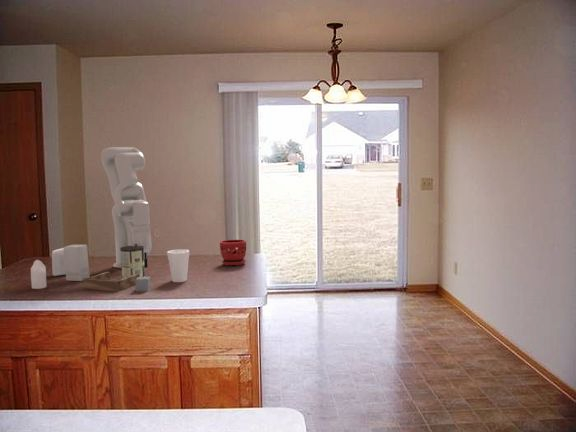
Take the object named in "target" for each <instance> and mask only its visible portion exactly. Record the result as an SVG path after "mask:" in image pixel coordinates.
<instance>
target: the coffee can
mask: <svg viewBox="0 0 576 432" xmlns="http://www.w3.org/2000/svg"><path fill="white" fill-rule="evenodd" d="M120 250H121V267H122V268H121V279H123V278H126V277H129V276H131V275H134V274H140V277H146V271H145V270H146V268H145V266H144V246H141V247H138V246H125V247H121V248H120Z"/></svg>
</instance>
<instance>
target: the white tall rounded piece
mask: <svg viewBox="0 0 576 432" xmlns="http://www.w3.org/2000/svg"><path fill="white" fill-rule="evenodd" d="M30 281H31V282H30V283H31V289H35V290H40V289H45V288H47V286H48V285H47V268H46V265H45V264H43V262H42V261H41V260H39V259H36V260H35V261H33V264H32V266H30Z"/></svg>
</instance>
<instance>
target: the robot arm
mask: <svg viewBox="0 0 576 432" xmlns="http://www.w3.org/2000/svg"><path fill="white" fill-rule="evenodd" d="M100 157H101V158H100V159H101V164H102V166H103V169H104V171H105V173H106V175H107V177H108V183H109V188H110V194H111V197H112V199H113V201H114V205H113V206H112V208H111V215H112V220H113V227H114V240H115V241H114V242H115V257H116V258H115V260H116V262H115V263H113V264H112V267H114V268H116V269H117V268H118V269H122V267H121V250H120V248H121V247H125V246H138V247H141V246H144V266H145V269H146V268H148V257H149V255H150V253H151V251H152V249H153V247H152V246H153V244H152V243H153V242H152V234H151V221H150V220H151V219H150V205H149V204H150V203H149V202H148V201H147V198H146V193H145V189H144V186H143V184H142V183H140V182H138V179H139V178H138V176H137V172H136V171H138V170H143V169H145V167H146V158H145V156H144V154H143V153H142V152H141V151H140V150H139V149H138V148H136V147H133V146H118V147H117V146H112V147H111V146H110V147H107V148H104V149H103V150H102V151H101V156H100ZM130 222H132V224H130Z"/></svg>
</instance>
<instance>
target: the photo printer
mask: <svg viewBox="0 0 576 432" xmlns="http://www.w3.org/2000/svg"><path fill="white" fill-rule="evenodd" d="M51 264H52V265H51V267H52V276H53V277H56V276H57V277H58V276H66V269H65V258H64V248H62V247H61V248H58V249H57V248H56V249H55V250H52V252H51Z"/></svg>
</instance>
